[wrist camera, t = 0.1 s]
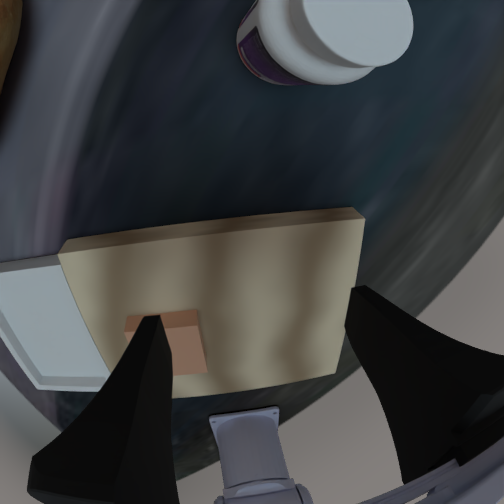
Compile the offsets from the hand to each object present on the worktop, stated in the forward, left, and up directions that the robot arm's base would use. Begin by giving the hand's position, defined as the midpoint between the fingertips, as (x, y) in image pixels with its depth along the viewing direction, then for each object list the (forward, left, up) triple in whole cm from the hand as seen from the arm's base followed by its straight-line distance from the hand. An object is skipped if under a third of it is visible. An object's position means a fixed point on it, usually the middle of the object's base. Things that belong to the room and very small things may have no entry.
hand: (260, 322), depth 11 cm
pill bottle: (+11, -4, -10) cm, 15 cm away
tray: (-8, +17, -10) cm, 21 cm away
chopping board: (-8, +1, -10) cm, 13 cm away
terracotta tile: (-8, +5, -8) cm, 13 cm away
